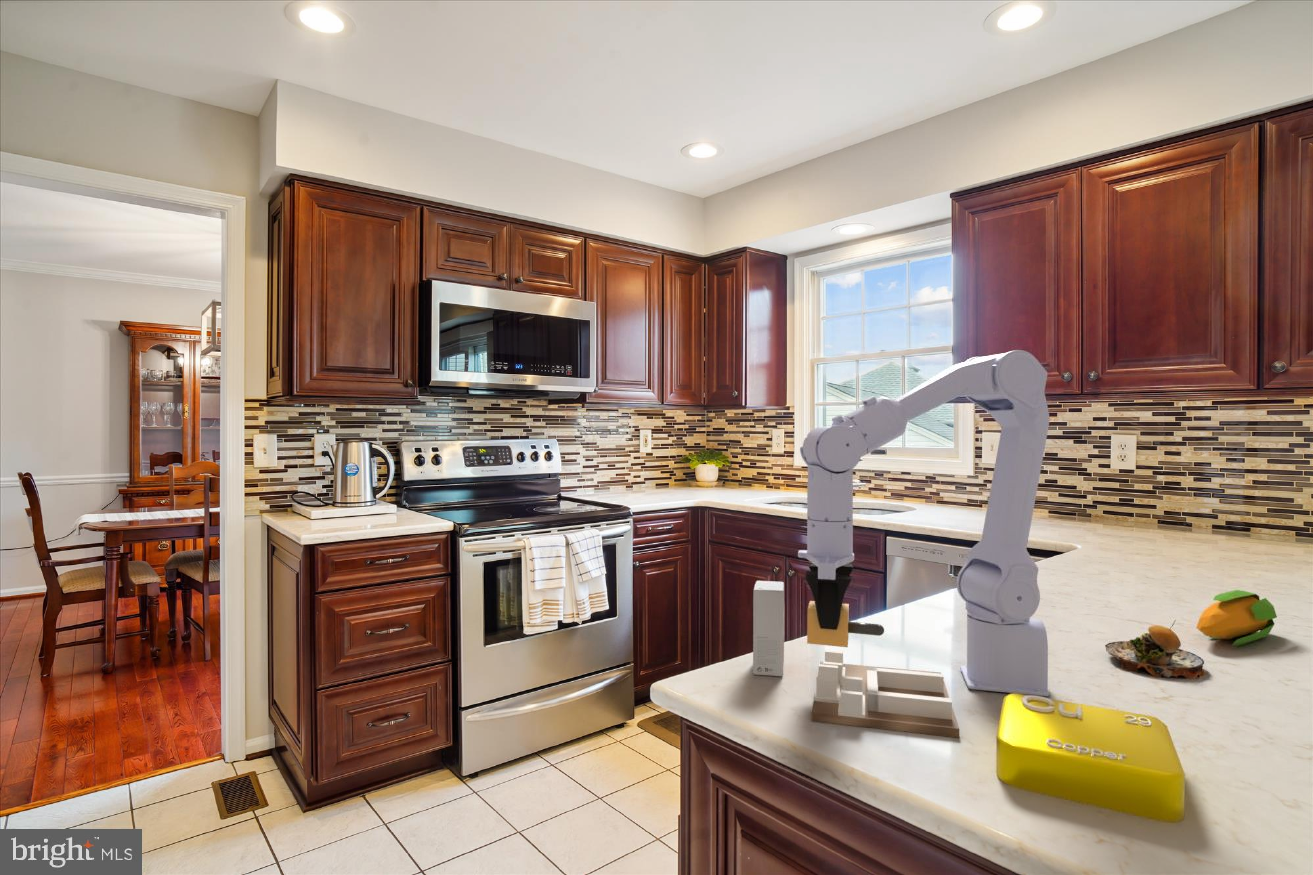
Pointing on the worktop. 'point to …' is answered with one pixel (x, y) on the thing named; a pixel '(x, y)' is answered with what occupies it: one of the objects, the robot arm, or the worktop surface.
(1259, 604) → the corn
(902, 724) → the board
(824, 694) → the clip
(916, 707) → the frame
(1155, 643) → the burger
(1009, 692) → the robot arm
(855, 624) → the block
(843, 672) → the clip
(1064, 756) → the element tile
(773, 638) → the skincare box
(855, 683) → the clip
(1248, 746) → the worktop surface
